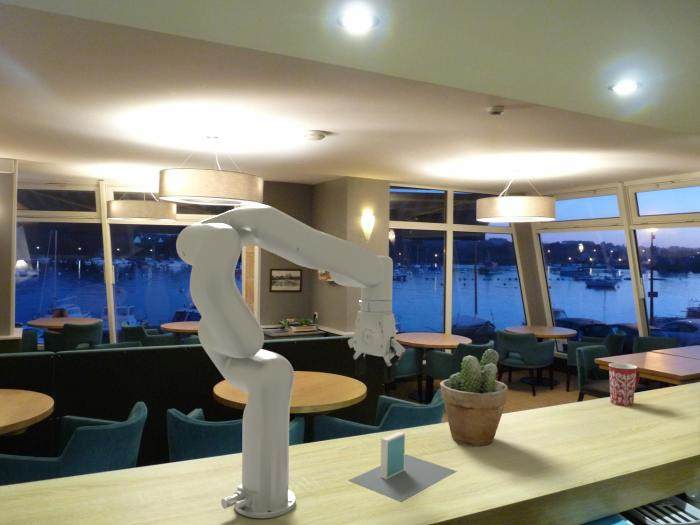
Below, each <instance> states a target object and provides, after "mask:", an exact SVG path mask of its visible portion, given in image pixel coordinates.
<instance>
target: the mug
mask: <svg viewBox="0 0 700 525" xmlns="http://www.w3.org/2000/svg"><path fill="white" fill-rule="evenodd" d="M608 370H609V372H608V373H609V375H608V376H609V394H610V395H609V396H610V397H609V399H610V403H611V404H613V405H616V406H621V407H632V406H633V405H634V400H635V391H636V389H637V387H638V385H639V382H640V371H639V369H638V366H636V365H634V364H630V363H624V362H612V363H611V362H610V363H608Z"/></svg>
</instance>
